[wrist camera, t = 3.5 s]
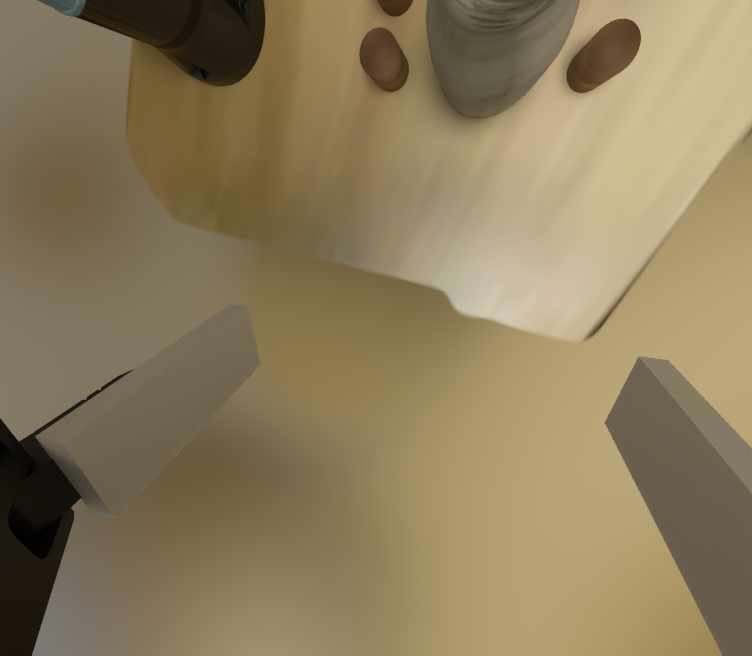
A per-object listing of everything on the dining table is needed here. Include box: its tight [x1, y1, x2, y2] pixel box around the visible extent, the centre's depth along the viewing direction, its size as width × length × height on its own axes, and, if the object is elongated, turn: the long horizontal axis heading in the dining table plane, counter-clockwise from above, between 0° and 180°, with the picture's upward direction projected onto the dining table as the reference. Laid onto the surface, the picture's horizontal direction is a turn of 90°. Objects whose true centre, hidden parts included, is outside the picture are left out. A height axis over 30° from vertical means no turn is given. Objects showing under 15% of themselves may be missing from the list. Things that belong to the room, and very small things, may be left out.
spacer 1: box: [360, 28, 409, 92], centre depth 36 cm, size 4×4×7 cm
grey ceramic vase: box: [426, 0, 580, 118], centre depth 24 cm, size 10×10×28 cm
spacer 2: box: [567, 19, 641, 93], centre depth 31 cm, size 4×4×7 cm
